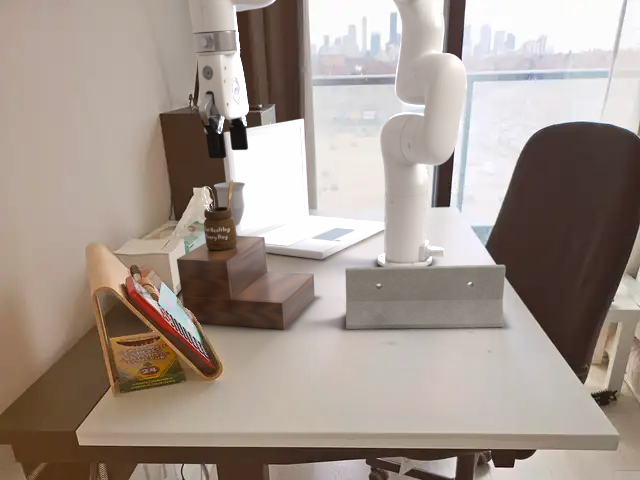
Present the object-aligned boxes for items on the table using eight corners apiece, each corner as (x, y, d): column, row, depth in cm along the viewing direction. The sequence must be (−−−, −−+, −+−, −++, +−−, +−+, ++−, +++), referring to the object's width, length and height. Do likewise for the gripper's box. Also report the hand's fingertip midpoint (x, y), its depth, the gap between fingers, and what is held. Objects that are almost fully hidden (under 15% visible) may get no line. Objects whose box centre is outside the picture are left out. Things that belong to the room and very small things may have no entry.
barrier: (346, 329, 117) (344, 274, 112) (347, 315, 123) (346, 262, 118) (503, 327, 114) (508, 271, 109) (496, 313, 121) (501, 259, 116)
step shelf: (314, 297, 133) (311, 238, 127) (284, 329, 118) (279, 264, 112) (225, 292, 138) (219, 235, 132) (185, 321, 124) (176, 259, 118)
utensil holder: (212, 243, 127) (204, 178, 121) (243, 243, 126) (236, 177, 120) (202, 251, 122) (193, 184, 116) (234, 251, 121) (226, 183, 115)
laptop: (323, 260, 157) (318, 134, 143) (232, 248, 170) (219, 132, 156) (387, 229, 181) (388, 119, 168) (304, 221, 195) (298, 118, 181)
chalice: (257, 259, 160) (250, 182, 151) (245, 266, 155) (237, 187, 146) (230, 257, 162) (222, 181, 153) (218, 265, 157) (208, 187, 148)
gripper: (214, 44, 102) (228, 161, 110) (256, 43, 116) (265, 146, 125) (172, 47, 104) (189, 161, 113) (218, 46, 118) (230, 147, 127)
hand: (229, 153), depth 119 cm, fingers open, 9 cm apart
